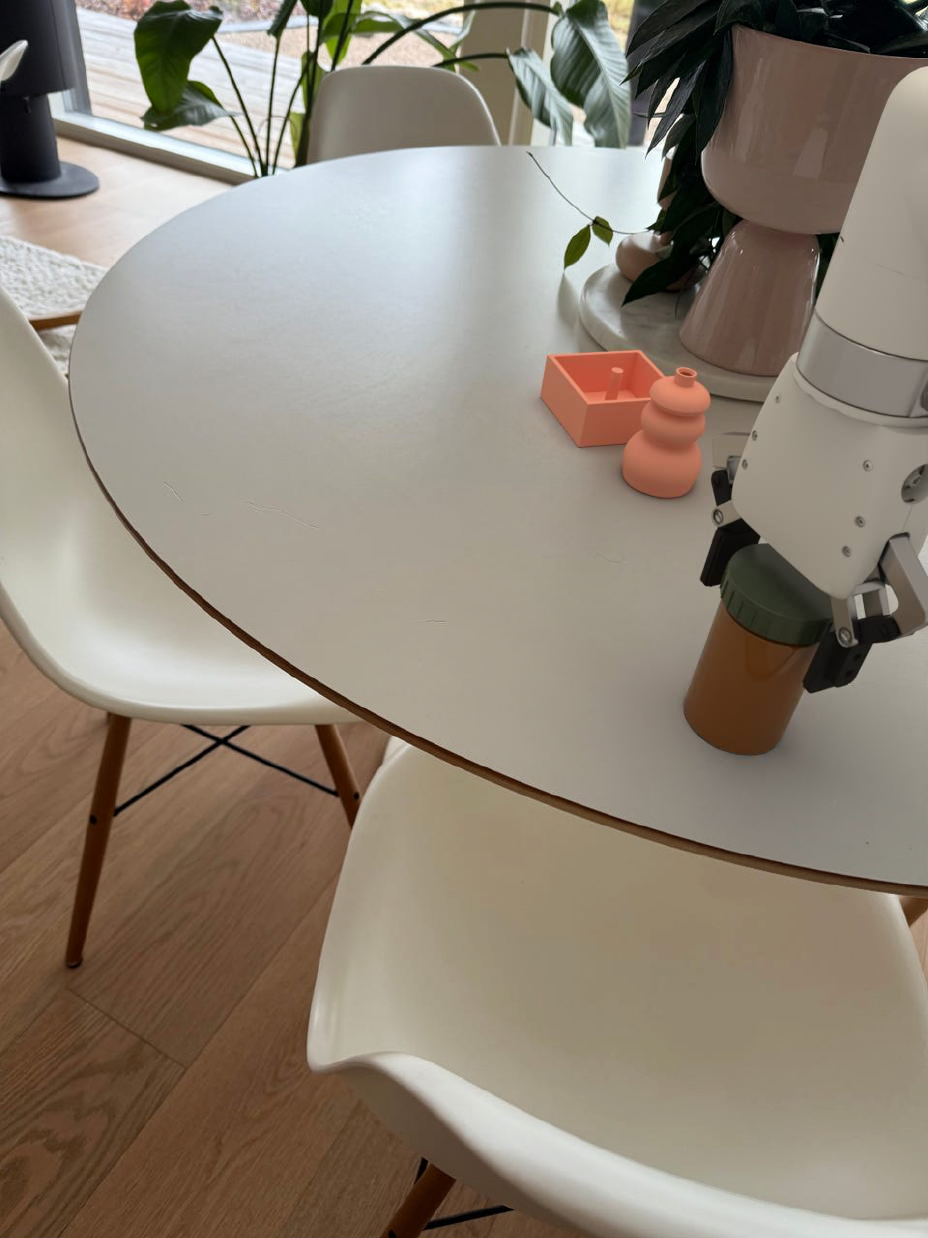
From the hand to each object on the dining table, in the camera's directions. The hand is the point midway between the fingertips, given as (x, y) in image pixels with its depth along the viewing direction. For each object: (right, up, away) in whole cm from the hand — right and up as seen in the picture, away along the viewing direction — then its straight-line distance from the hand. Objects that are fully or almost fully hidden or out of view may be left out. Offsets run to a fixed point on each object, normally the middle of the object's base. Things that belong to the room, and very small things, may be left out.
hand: (770, 629), depth 59 cm
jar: (-1, -6, +5) cm, 8 cm away
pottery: (-4, +16, +30) cm, 34 cm away
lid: (0, +3, -2) cm, 3 cm away
